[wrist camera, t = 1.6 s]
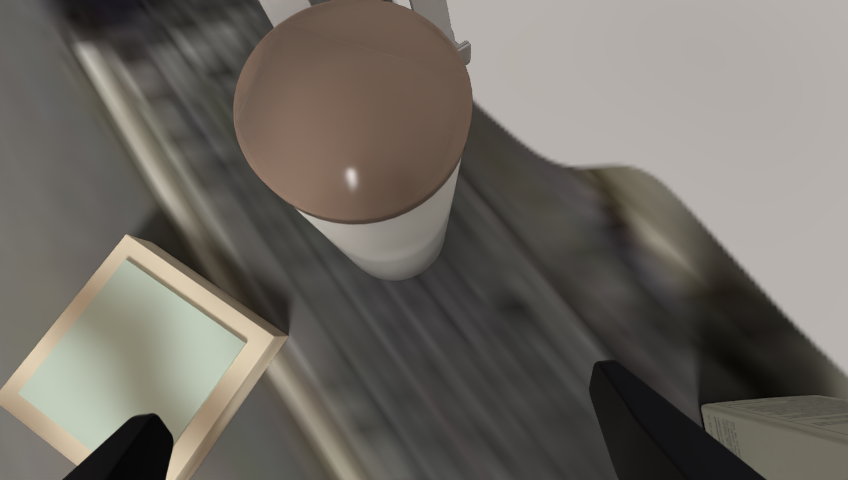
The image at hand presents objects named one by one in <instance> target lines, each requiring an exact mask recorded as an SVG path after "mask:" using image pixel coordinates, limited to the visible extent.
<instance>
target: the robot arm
mask: <svg viewBox="0 0 848 480" xmlns="http://www.w3.org/2000/svg"><path fill="white" fill-rule="evenodd" d="M589 392H590V397H591V400H592V403H593V406H594V409H595V412H596V415H597V418H598V421H599V424H600V427H601V430H602V434H603V437H604V440H605V443H606V446H607V449H608V452H609V455H610V458H611V461H612V463H613V466H614V469H615V472H616V474H617V477H618V479H619V480H767V479H765V478H764V477H763V476H761V475H760V474H759V473H758V472H756V471H755V470H754V469H753V468H751V467H750V466H749V465H748V464H746V463H745V462H744V461H743V460H741V459H740V458H739V457H738V456H736V455H735V454H734V453H733V452H731V451H730V450H729V449H728V448H726V447H725V446H724V445H723V444H721V443H720V442H719V441H718V440H716V439H715V438H714V437H712V436H711V435H710V434H709V433H707V432H706V431H705V430H704V429H702V428H701V427H700V426H699V425H697V424H696V423H695V422H694V421H692V420H691V419H690V418H689V417H687V416H686V415H685V414H684V413H682V412H681V411H680V410H679V409H677V408H676V407H675V406H674V405H672V404H671V403H670V402H669V401H667V400H666V399H665V398H664V397H662V396H661V395H660V394H658V393H657V392H656V391H655V390H653V389H652V388H651V387H650V386H648V385H647V384H646V383H645V382H643V381H642V380H641V379H640V378H638V377H637V376H636V375H635V374H633V373H632V372H631V371H630V370H628V369H627V368H626V367H625V366H623V365H622V364H621V363H619V362H618V361H616V360H605V361H598V362H596V363H595V364H594V367H593V371H592V376H591V381H590V386H589ZM173 446H174V439H173V435H172V433H171V432H170V431H169V429H168V428H167V426H166V425H165V424H164V422H163V421H162V419H161V418H160V417H159V415H157V414H155V413H147V414H139V415H135V416H133V417H131V418H130V419H128V420H127V421H126V422H125V423H124V424H123V425H122V426H121V427H119V428H118V429H117V430H116V431H115V432H114V433H113V434H112V435H111V436H110V437H109V438H107V439H106V440H105V441H104V442H103V443H102V444H101V445H100V446H99V447H98V448H97V449H95V450H94V451H93V452H92V453H91V454H90V455H89V456H88V457H87V458H86V459H84V460H83V461H82V462H81V463H80V464H79V465H78V466H77V467H76V468H75V469H74V470H72V471H71V472H70V473H69V474H68V475H67V476H66V477H65V478H64V479H63V480H166V476H167V472H168V468H169V463H170V459H171V455H172V451H173Z"/></svg>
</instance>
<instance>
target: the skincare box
mask: <svg viewBox="0 0 848 480" xmlns="http://www.w3.org/2000/svg"><path fill="white" fill-rule="evenodd" d="M701 410H702V415H703V420H704V425H705V430H706V432H707V433H709V434H710V435H711V436H712V437H714V438H715V439H716V440H718V441H719V442H720V443H721V444H723V445H724V446H725V447H726V448H728V449H729V450H730V451H731V452H733V453H734V454H735V455H736V456H738V457H739V458H740V459H741V460H743V461H744V462H745V463H746V464H748V465H749V466H750V467H751V468H753V469H754V470H755V471H756V472H758V473H759V474H760V475H761V476H763V477H764V478H765V479H767V480H848V400H847V399H840V398H833V397H826V396H819V395H810V396H792V397H778V398H763V399H753V400H740V401H729V402H720V403H712V404H704V405H702V406H701Z"/></svg>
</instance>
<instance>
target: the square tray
mask: <svg viewBox="0 0 848 480" xmlns="http://www.w3.org/2000/svg"><path fill="white" fill-rule="evenodd" d="M287 338H288V335H286V334H285V333H283V332H282V331H280V330H279V329H277V328H276V327H274V326H273V325H272V324H270V323H269V322H267V321H266V320H264V319H263V318H261V317H260V316H258V315H257V314H256V313H254V312H253V311H251V310H250V309H248V308H247V307H245V306H244V305H243V304H241V303H240V302H238V301H237V300H235V299H234V298H232V297H231V296H229V295H228V294H227V293H225V292H224V291H222V290H221V289H219V288H218V287H216V286H215V285H213V284H212V283H211V282H209V281H208V280H206V279H205V278H203V277H202V276H200V275H199V274H197V273H196V272H195V271H193V270H192V269H190V268H189V267H187V266H186V265H184V264H183V263H182V262H180V261H179V260H177V259H176V258H174V257H173V256H171V255H170V254H168V253H167V252H166V251H164V250H163V249H161V248H160V247H158V246H157V245H155V244H154V243H152V242H149V241H146V240H143V239H140V238H136V237H133V236H130V235H127V234H126V235H125V237H124V238H123V239H122V240H121V241H120V243H119V244H118V245H117V246H116V248H115V249H114V250H113V251H112V253H111V254H110V255H109V256H108V258H107V259H106V260H105V261H104V263H103V264H102V265H101V266H100V268H99V269H98V270H97V271H96V272H95V274H94V275H93V276H92V277H91V279H90V280H89V281H88V282H87V284H86V285H85V286H84V287H83V289H82V290H81V291H80V292H79V294H78V295H77V296H76V297H75V299H74V300H73V301H72V302H71V303H70V305H69V306H68V307H67V308H66V310H65V311H64V312H63V313H62V315H61V316H60V317H59V318H58V320H57V321H56V322H55V323H54V325H53V326H52V327H51V328H50V330H49V331H48V332H47V333H46V334H45V336H44V337H43V338H42V339H41V341H40V342H39V343H38V344H37V346H36V347H35V348H34V349H33V351H32V352H31V353H30V354H29V356H28V357H27V358H26V359H25V361H24V362H23V363H22V364H21V365H20V367H19V368H18V369H17V370H16V372H15V373H14V374H13V375H12V377H11V378H10V379H9V380H8V382H7V383H6V384H5V385H4V387H3V388H2V389H1V390H0V405H1V406H3V407H4V408H5V409H6V410H8V411H9V412H10V413H11V414H13V415H14V416H15V417H17V418H18V419H19V420H20V421H22V422H23V423H24V424H25V425H27V426H28V427H29V428H30V429H32V430H33V431H34V432H35V433H37V434H38V435H39V436H40V437H42V438H43V439H44V440H46V441H47V442H48V443H49V444H51V445H52V446H53V447H54V448H56V449H57V450H58V451H59V452H61V453H62V454H63V455H64V456H66V457H67V458H68V459H69V460H71V461H72V462H73V463H75V464H76V465H77V466H78V465H79V464H80V463H81V462H82V461H83V460H84V459H86V458H87V457H88V456H89V455H90V454H91V453H92V452H93V451H94V450H95V449H97V448H98V447H99V446H100V445H101V444H102V443H103V442H104V441H105V440H106V439H107V438H109V437H110V436H111V435H112V434H113V433H114V432H115V431H116V430H117V429H118V428H119V427H121V426H122V425H123V424H124V423H125V422H126V421H127V420H128V419H130V418H131V417H133V416H135V415H139V414H147V413H155V414H157V415H159V417H160V418H161V419H162V421H163V422H164V424H165V425H166V426H167V428H168V429H169V431H170V432H171V433H172V435H173V439H174V446H173V451H172V455H171V459H170V463H169V468H168V472H167V476H166V480H190V478H191V477H192V475H193V474H194V472H195V471H196V470H197V468H198V467H199V465H200V464H201V462H202V461H203V459H204V458H205V457H206V455H207V454H208V452H209V451H210V449H211V448H212V446H213V445H214V443H215V442H216V441H217V439H218V438H219V436H220V435H221V433H222V432H223V430H224V429H225V428H226V426H227V425H228V423H229V422H230V420H231V419H232V417H233V416H234V414H235V413H236V412H237V410H238V409H239V407H240V406H241V404H242V403H243V401H244V400H245V398H246V397H247V396H248V394H249V393H250V391H251V390H252V388H253V387H254V385H255V384H256V383H257V381H258V380H259V378H260V377H261V375H262V374H263V372H264V371H265V369H266V368H267V367H268V365H269V364H270V362H271V361H272V359H273V358H274V356H275V355H276V354H277V352H278V351H279V349H280V348H281V346H282V345H283V343H284V342H285V340H286V339H287Z"/></svg>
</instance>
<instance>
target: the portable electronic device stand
mask: <svg viewBox="0 0 848 480" xmlns="http://www.w3.org/2000/svg"><path fill="white" fill-rule="evenodd" d="M328 1H332V0H259V2H260V4H261V5H262V7H263V9H264V11H265V12H266V14H267V16H268V18H269V20H270V21H271V23H272V25H273V27H274V28H275V27H276V26H277V25H278V24H280V23H281V22H283V21H284V20H286V19H287V18H289V17H290V16H292V15H294V14H296V13H298V12H300V11H302V10H304V9H306V8H308V7H311V6H314V5H317V4H320V3H324V2H328ZM409 1H410V5H411V8H412V10H413V11H415V12H417V13H419V14H420V15H422V16H423V17H425V18H427V19H428V20H430V21H431V22H432V23H433V24H435V25H436V26H437V27H438V28H439V29H441V30H442V32H443V33H444V34H445V35H446V36H447V37H448V38H449V39H450V40H451V42H452V43H453V44H454V46H455V47H456V49H457V50H458V52H459V54H460V56H461V57H462V59H463V61H464V63H465V65H467V64H468V63H469V62H470V58H471V44H470V43H469V42H468V41H464V42H463V43H461V44H458V43H457V42H456V41H455V38H454V34H453V31H452V29H451V24H450V19H449V13H448V8H447V3H446V0H409Z"/></svg>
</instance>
